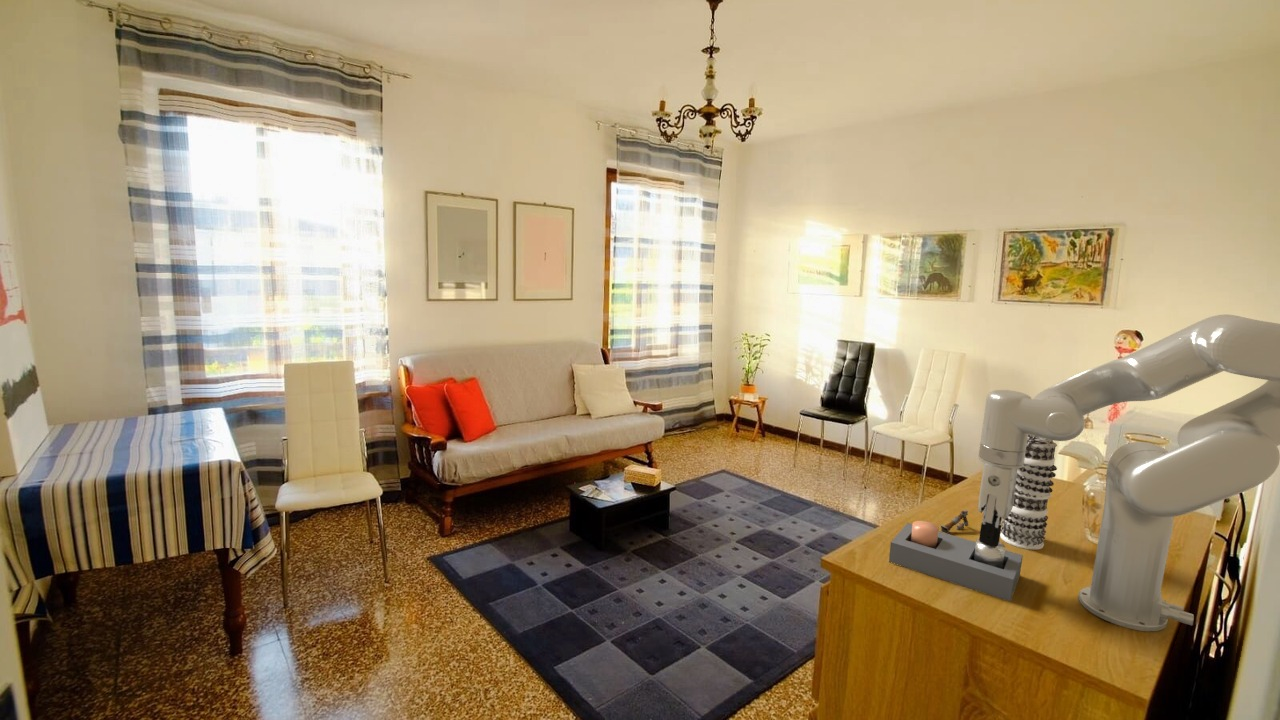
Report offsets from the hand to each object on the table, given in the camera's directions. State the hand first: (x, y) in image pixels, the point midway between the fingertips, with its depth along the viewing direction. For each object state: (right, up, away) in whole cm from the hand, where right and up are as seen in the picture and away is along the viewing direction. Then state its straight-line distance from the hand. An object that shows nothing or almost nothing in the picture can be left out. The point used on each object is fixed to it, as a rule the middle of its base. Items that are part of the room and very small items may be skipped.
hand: (988, 542), depth 117 cm
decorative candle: (+18, -5, +18) cm, 26 cm away
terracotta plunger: (-9, -3, +8) cm, 12 cm away
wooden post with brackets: (+5, -4, +23) cm, 24 cm away
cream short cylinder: (0, -4, +1) cm, 4 cm away
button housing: (-4, -7, +5) cm, 10 cm away
